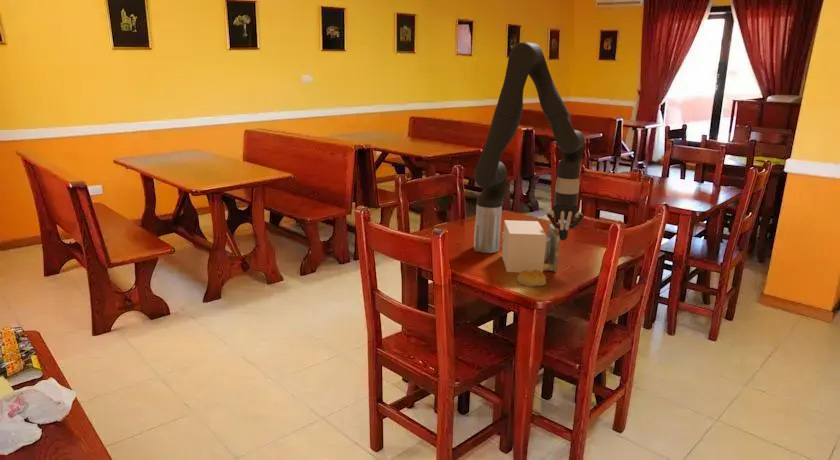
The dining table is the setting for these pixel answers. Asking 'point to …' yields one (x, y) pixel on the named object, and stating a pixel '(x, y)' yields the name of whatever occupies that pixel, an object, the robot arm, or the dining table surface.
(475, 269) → the dining table surface
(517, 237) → the white upright box
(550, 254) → the carrier
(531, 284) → the bread roll
